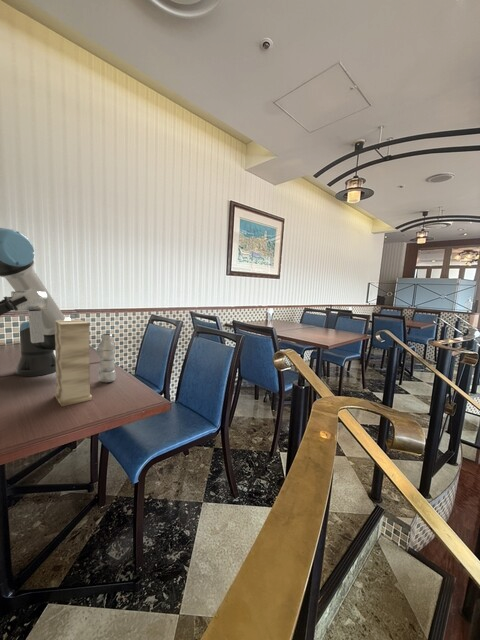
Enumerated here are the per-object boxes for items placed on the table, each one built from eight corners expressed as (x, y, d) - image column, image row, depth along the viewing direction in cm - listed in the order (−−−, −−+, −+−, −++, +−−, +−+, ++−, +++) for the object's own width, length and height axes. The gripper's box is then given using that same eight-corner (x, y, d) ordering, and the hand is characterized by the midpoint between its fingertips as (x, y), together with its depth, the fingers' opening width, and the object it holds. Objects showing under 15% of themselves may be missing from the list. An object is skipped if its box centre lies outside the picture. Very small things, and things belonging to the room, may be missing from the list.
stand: (54, 395, 93) (52, 320, 91) (83, 390, 100) (82, 319, 97) (61, 406, 86) (59, 324, 83) (92, 399, 92) (91, 323, 89)
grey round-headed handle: (47, 338, 88) (11, 342, 81) (43, 290, 86) (5, 291, 79) (51, 341, 84) (13, 346, 77) (46, 291, 81) (7, 291, 75)
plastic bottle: (109, 385, 106) (108, 336, 104) (94, 383, 107) (93, 334, 105) (119, 380, 112) (119, 333, 110) (105, 378, 114) (105, 332, 112)
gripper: (-46, 339, 77) (38, 301, 90) (-50, 352, 64) (49, 304, 77) (-67, 318, 74) (23, 281, 87) (-76, 326, 61) (32, 281, 74)
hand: (35, 292), depth 82 cm, fingers closed on grey round-headed handle, 6 cm apart
